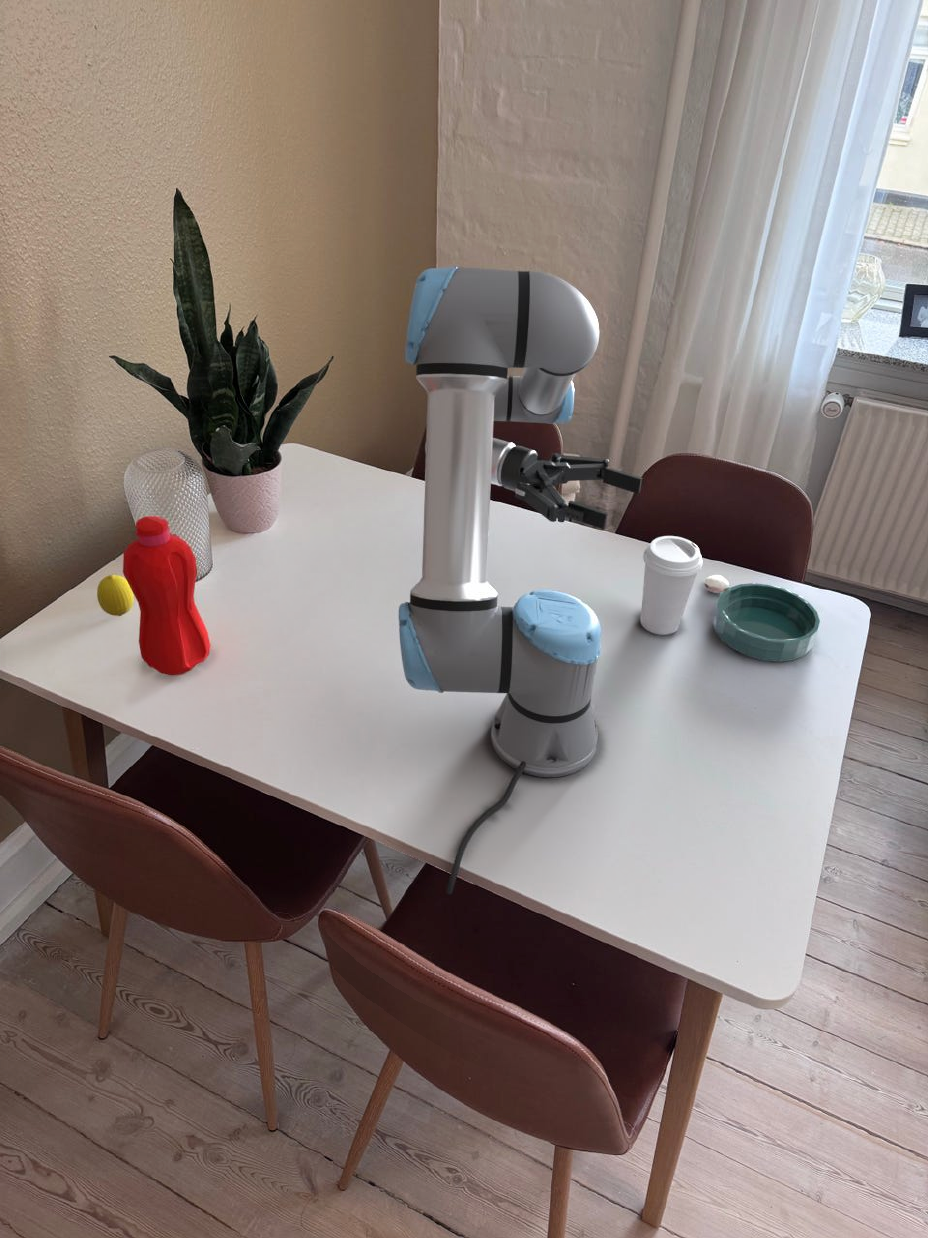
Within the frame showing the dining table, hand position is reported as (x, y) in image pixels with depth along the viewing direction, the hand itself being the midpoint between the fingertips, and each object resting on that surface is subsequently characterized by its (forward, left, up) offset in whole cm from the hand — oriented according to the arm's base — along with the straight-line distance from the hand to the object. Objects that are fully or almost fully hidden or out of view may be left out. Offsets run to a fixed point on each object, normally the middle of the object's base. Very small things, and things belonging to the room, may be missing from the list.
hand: (623, 503), depth 149 cm
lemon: (-60, +56, -20) cm, 85 cm away
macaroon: (+18, -11, -20) cm, 29 cm away
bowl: (+12, -24, -20) cm, 33 cm away
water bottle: (-59, +40, -20) cm, 75 cm away
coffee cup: (+2, -10, -20) cm, 23 cm away
